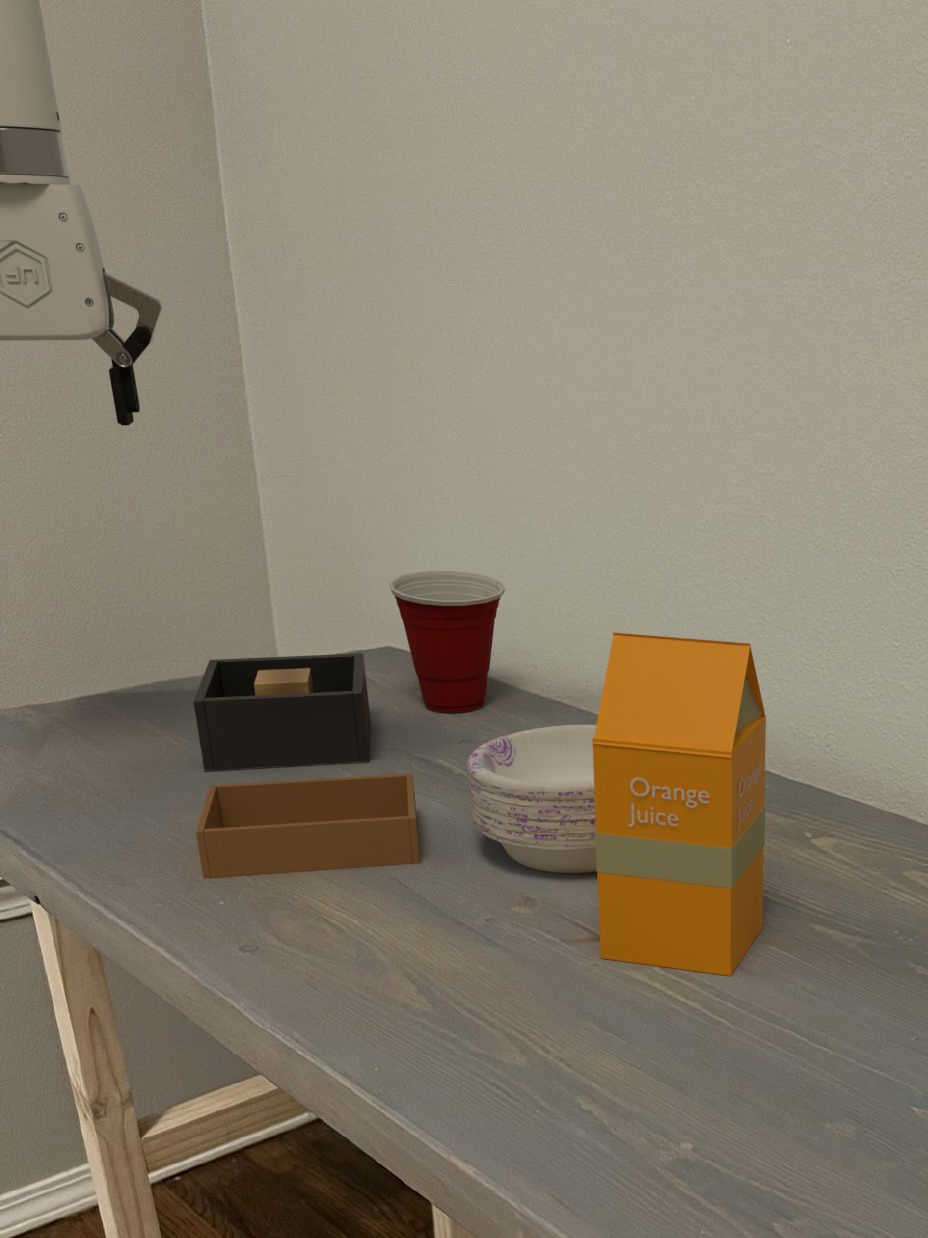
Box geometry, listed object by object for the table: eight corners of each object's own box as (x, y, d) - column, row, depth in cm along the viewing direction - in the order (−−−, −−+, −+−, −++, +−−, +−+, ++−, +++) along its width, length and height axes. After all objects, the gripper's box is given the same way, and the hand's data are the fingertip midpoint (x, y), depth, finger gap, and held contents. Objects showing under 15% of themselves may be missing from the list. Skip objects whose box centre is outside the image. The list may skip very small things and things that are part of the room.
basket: (205, 777, 125) (192, 700, 122) (220, 730, 137) (209, 659, 134) (370, 767, 128) (361, 692, 125) (370, 722, 140) (363, 652, 137)
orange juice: (730, 977, 92) (733, 659, 83) (598, 958, 94) (586, 647, 85) (764, 927, 99) (769, 628, 90) (639, 911, 101) (632, 617, 92)
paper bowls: (460, 828, 115) (452, 729, 111) (649, 809, 119) (647, 713, 115) (491, 903, 102) (483, 794, 98) (703, 879, 106) (702, 774, 103)
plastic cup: (451, 728, 138) (440, 598, 133) (377, 707, 144) (364, 582, 139) (535, 703, 146) (528, 580, 140) (461, 684, 152) (452, 565, 146)
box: (204, 884, 105) (195, 831, 103) (217, 834, 113) (209, 785, 111) (420, 869, 107) (415, 817, 106) (417, 821, 116) (412, 773, 114)
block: (263, 750, 130) (253, 683, 127) (267, 735, 134) (257, 670, 131) (316, 748, 131) (307, 681, 128) (318, 733, 134) (310, 667, 132)
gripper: (-145, 156, 97) (-82, 432, 105) (132, 161, 101) (173, 428, 108) (-112, 161, 104) (-55, 420, 112) (147, 166, 107) (185, 417, 115)
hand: (57, 424), depth 110 cm, fingers open, 9 cm apart
